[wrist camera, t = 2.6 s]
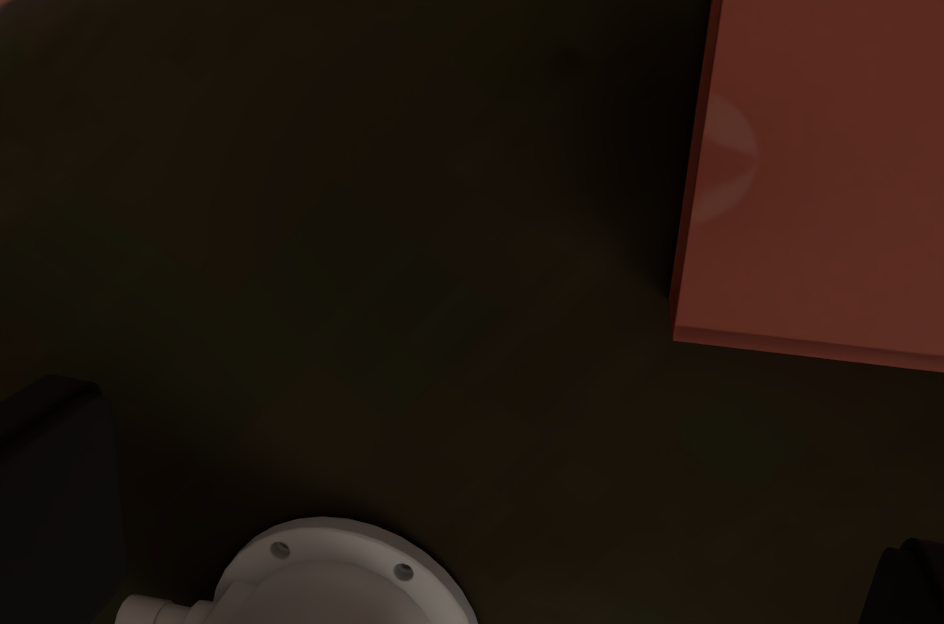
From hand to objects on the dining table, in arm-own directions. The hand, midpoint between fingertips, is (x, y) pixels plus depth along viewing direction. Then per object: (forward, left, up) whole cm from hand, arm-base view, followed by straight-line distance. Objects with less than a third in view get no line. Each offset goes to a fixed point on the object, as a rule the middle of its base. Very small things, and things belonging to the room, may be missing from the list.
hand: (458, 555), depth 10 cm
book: (+11, +3, -20) cm, 23 cm away
